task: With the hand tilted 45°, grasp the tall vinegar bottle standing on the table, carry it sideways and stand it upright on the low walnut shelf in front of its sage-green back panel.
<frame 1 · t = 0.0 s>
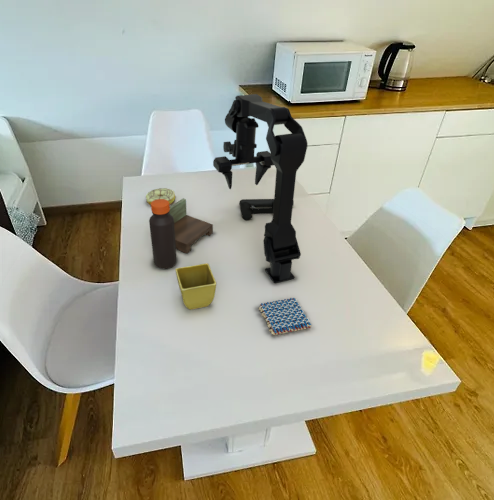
hand: (243, 186, 125), 15 cm above the table, tool pointing down, fingers open, 9 cm apart
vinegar: (165, 263, 116), on the table
black toy gun: (268, 215, 140), on the table
yellow flat round disc: (161, 202, 146), on the table
shelf: (185, 237, 127), on the table
woven mat: (283, 318, 97), on the table
flower pot: (196, 302, 102), on the table
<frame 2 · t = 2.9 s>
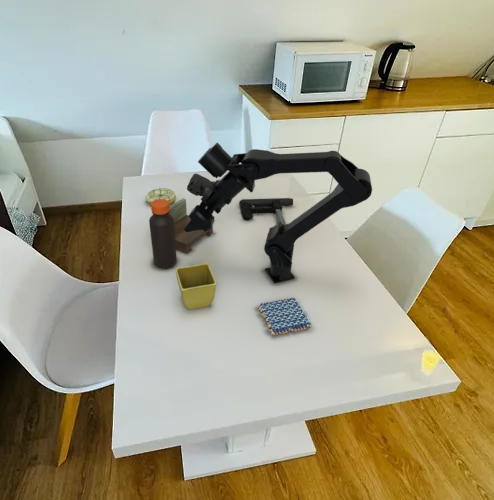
hand: (190, 222, 109), 14 cm above the table, tool tilted 40°, fingers open, 9 cm apart
nothing on the table moved.
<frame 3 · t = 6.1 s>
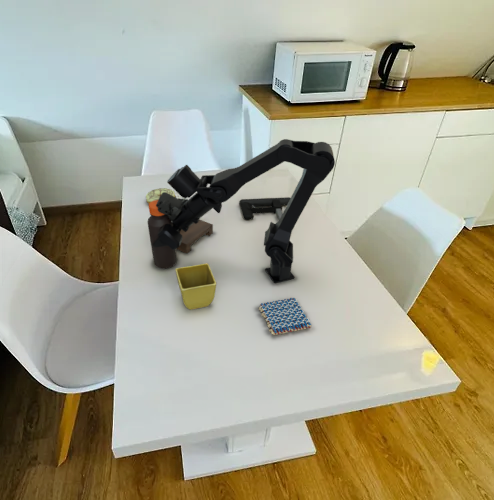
hand: (157, 238, 111), 9 cm above the table, tool tilted 45°, fingers closed on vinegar, 7 cm apart
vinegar: (165, 262, 115), on the table, touching gripper
everything else where it was.
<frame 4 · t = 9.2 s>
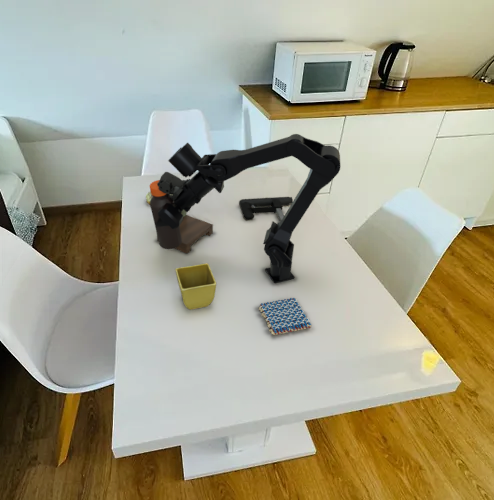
hand: (160, 219, 110), 13 cm above the table, tool tilted 45°, fingers closed on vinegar, 7 cm apart
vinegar: (170, 243, 115), point 5 cm above the table, touching gripper
everything else where it was.
when the fingers open (12 cm above the table, at t = 12.4 s): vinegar stays where it is, resting on shelf.
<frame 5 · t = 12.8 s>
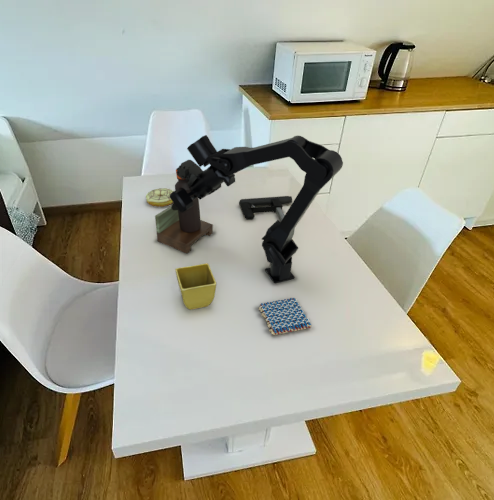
hand: (181, 202, 120), 12 cm above the table, tool tilted 45°, fingers open, 9 cm apart
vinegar: (190, 228, 125), point 4 cm above the table, touching gripper, shelf
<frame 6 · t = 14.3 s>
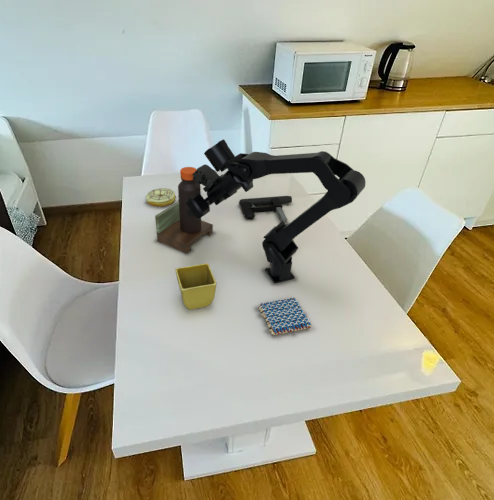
hand: (196, 208, 117), 12 cm above the table, tool tilted 45°, fingers open, 9 cm apart
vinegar: (190, 228, 125), point 3 cm above the table, touching shelf
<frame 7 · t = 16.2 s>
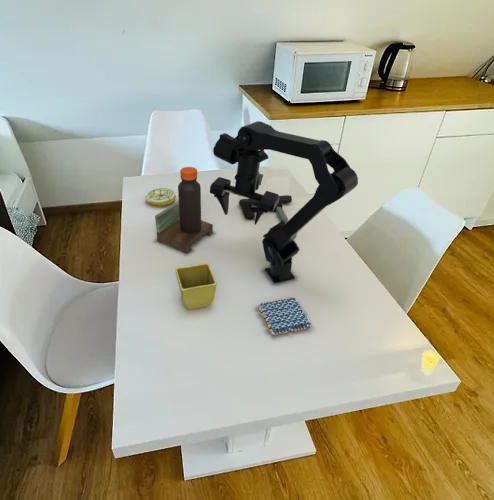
hand: (240, 219, 112), 12 cm above the table, tool pointing down, fingers open, 9 cm apart
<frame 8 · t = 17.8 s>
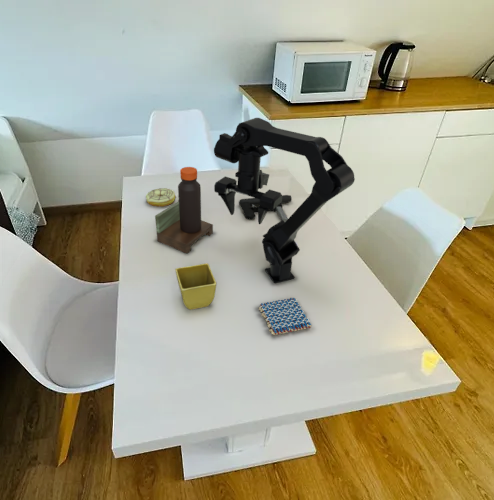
hand: (245, 218, 111), 13 cm above the table, tool pointing down, fingers open, 9 cm apart
at the end: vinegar inside the target area on the shelf (1.4 cm from its centre), point 3.3 cm above the shelf's base; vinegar tilted 0°; the gripper is holding nothing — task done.
